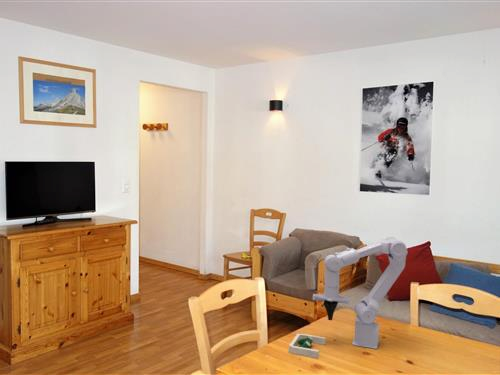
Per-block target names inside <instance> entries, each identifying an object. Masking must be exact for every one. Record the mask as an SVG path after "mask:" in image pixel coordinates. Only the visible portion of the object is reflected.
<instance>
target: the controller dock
mask: <svg viewBox="0 0 500 375" xmlns="http://www.w3.org/2000/svg"><path fill="white" fill-rule="evenodd" d="M309 336H310V337H311V338H312V339H313V342H312V344H318V345H323V346H325V345H326V337H325V336H324V337H323V336H319V335H312V334H306V333H296V335H295V336H294V338H293V340H292V341H291V342H290V343H289V345H288V353H290V354H291V355H297V356H303V357H309V358H315V359H319V357H320V350H319V349H313V348H309V349H308V348H303V347H297V346H298V345H299V344H298V341H299V340H300V339H305V338H307V337H309Z"/></svg>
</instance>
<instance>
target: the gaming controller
mask: <svg viewBox="0 0 500 375" xmlns="http://www.w3.org/2000/svg"><path fill="white" fill-rule="evenodd" d="M312 342H313V339H312V338H311V337H310V336H309V337H307V338H305V339H300V340H299V341H298V344H297V347H303V348H308V349H311V346H312V344H313V343H312Z"/></svg>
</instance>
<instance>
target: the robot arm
mask: <svg viewBox="0 0 500 375" xmlns="http://www.w3.org/2000/svg"><path fill="white" fill-rule="evenodd" d="M377 253H380V254H381V253H382V254H386V255H387V256H388V262H389V264H388V266H387V267H386V268H385V270H384V271H383V273H382V274H381V276H380V278H379V279H378V280H377V281H376V283H375V284H374V286H373V288H372V289H371V290H370V291H369V293H368V295H365V296H364V297H362V299H361V300H360V301H358V302H356V304H355V305H354V307H353V311H354V313H355V315H356V317H355V320H354V336H353V337H354V338H353V340H352V346H356V347H362V348H363V347H364V348H369V349H375V350H377V349H378V346H379V343H380V337H379V336H380V335H379V334H380V323H378V322H375V321H376V318H377V314H378V312H379V310H380V303H381V302H382V301H383V299H384V298H385V296H386V295H387V293H388V292H389V291H390V289H391V288H392V286H393V284H394V283H395V282H396V281H397V279H398V278H399V276H400V275H401V273H402V272H403V271H404V269H405V267H406V260H407V255H408V248H407V245H406V244H405V243H404V242H403V241H400V240H398V239H396V238H395V237H393V236H390V237H387V238H382V239H380V240H377V241H375V242H372V243H370V244H368V245H366V246H363V247H360V248H358V249H355V248H350V247H347V248H346V249H345V250H344V251H340V252H335V253H334V254H329V255H327V256H326V257H324V260H323V265H324V267H325V270H324V285H323V286H324V287H323V288H324V289H323V291H324V292H323V294H322V293H313V294H312V301H315V300H317V301H321V302H322V301H323V306H324V308H325V311H326V313H327V320H328V321H333V319H334V314H335V310H336V308H337V306H338V305H339V304H346V305H351V298H350V297H345V296H340V277H341V276H340V270H341V269H342V268H344V267H347V266H350V265H353V264H355V263H358V262H359V260H360V258H364V257H367V256H371V255H375V254H377Z"/></svg>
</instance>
